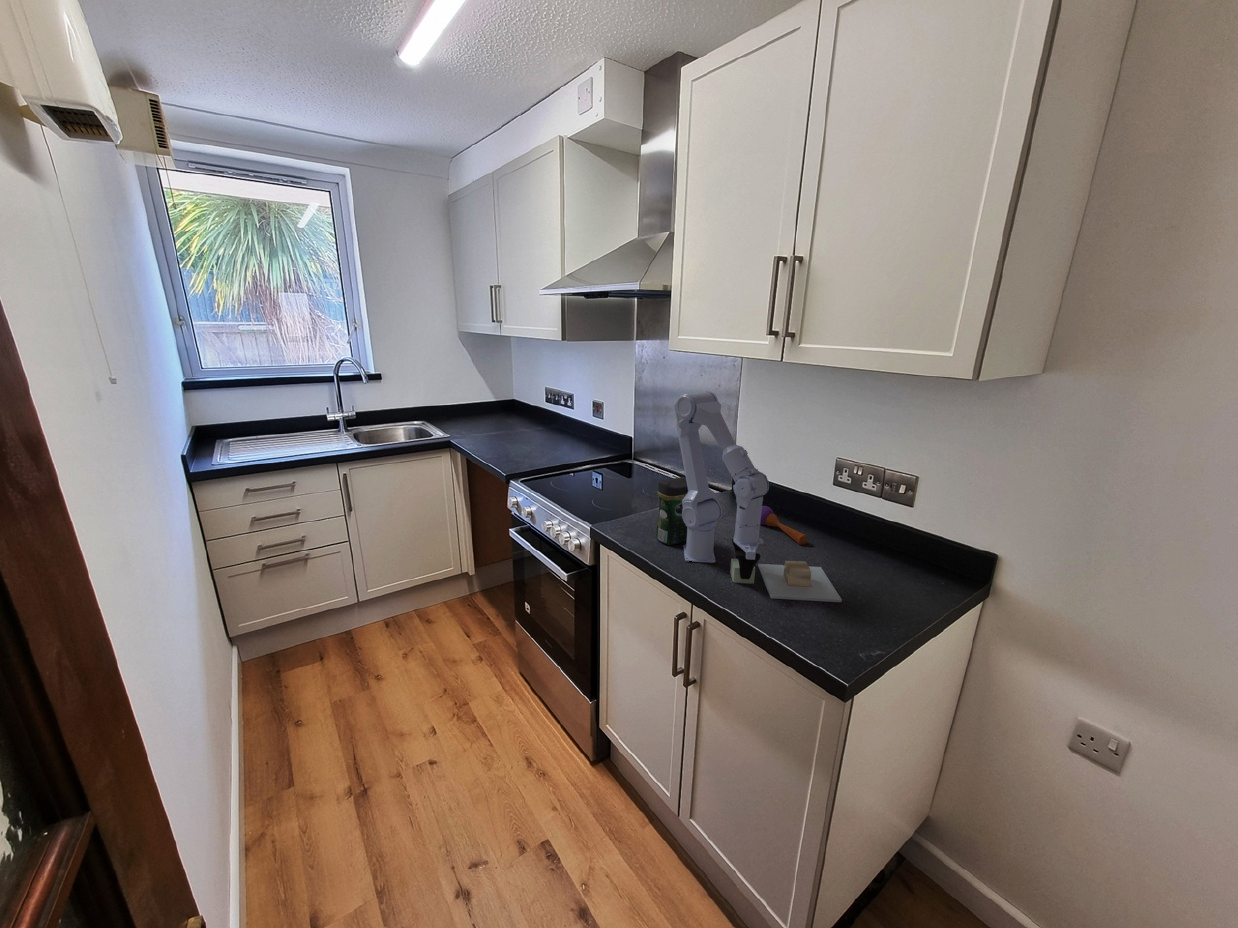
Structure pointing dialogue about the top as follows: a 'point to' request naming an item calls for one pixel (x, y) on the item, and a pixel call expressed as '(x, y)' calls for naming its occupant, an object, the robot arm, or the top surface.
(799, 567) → the beech block
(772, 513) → the maraca
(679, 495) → the coffee jar
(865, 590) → the top surface
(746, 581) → the sage block
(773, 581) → the baseplate
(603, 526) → the top surface
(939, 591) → the top surface
